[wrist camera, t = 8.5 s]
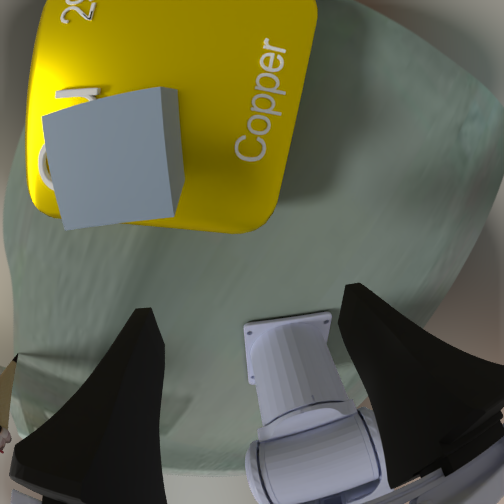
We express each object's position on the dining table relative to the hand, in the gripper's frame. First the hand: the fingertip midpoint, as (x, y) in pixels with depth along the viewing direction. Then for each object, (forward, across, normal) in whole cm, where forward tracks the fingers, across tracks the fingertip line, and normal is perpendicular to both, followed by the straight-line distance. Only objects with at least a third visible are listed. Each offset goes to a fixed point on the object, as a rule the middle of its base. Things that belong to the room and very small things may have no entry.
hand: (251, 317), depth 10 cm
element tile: (+11, +4, -8) cm, 15 cm away
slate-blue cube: (+6, +4, -6) cm, 10 cm away
